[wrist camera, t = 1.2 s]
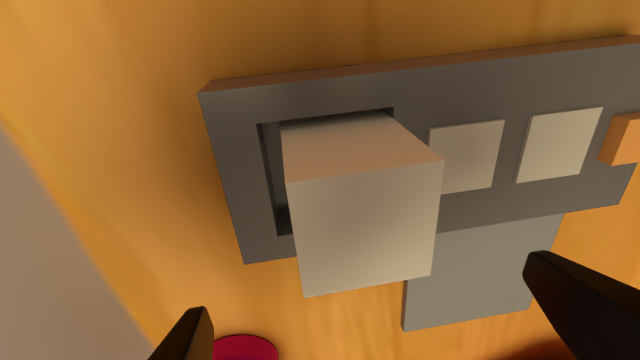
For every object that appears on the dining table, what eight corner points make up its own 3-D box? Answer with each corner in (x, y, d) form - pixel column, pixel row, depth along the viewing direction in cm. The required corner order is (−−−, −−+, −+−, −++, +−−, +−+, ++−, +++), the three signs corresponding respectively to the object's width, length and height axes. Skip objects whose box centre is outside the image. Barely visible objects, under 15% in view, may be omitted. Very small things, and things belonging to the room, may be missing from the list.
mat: (561, 195, 21) (569, 200, 20) (523, 303, 26) (528, 309, 26) (409, 218, 20) (412, 224, 19) (400, 325, 25) (403, 332, 25)
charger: (376, 104, 15) (444, 160, 9) (375, 189, 18) (430, 277, 12) (279, 116, 15) (285, 183, 9) (292, 202, 17) (304, 300, 11)
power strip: (617, 34, 17) (718, 37, 13) (567, 177, 21) (632, 211, 17) (213, 78, 15) (192, 97, 11) (248, 225, 19) (242, 275, 15)
